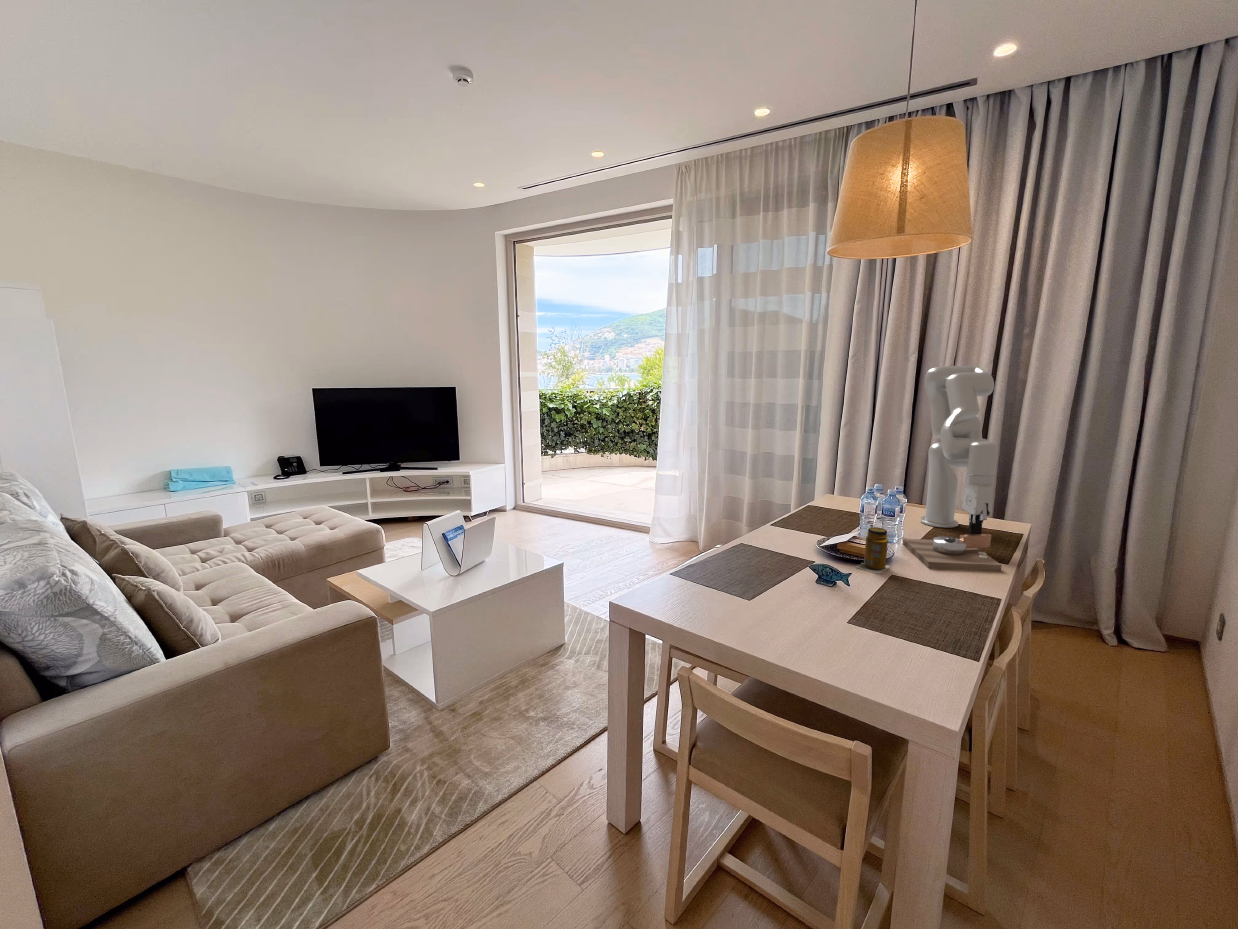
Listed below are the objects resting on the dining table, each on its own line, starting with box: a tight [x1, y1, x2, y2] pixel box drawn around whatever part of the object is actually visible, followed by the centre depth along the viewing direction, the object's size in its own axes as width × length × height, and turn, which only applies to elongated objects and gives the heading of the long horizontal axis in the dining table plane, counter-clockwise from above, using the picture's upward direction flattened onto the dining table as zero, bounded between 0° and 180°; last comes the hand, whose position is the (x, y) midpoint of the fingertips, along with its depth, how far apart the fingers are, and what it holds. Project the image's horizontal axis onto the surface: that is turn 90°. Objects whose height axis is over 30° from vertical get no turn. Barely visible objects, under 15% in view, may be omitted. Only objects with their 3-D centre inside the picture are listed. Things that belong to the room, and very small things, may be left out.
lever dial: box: [932, 533, 992, 555], centre depth 170 cm, size 18×9×4 cm, turn 95°
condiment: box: [855, 526, 891, 575], centre depth 162 cm, size 7×8×12 cm
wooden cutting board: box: [902, 538, 1003, 572], centre depth 170 cm, size 22×20×2 cm
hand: (974, 533), depth 176 cm, fingers closed
